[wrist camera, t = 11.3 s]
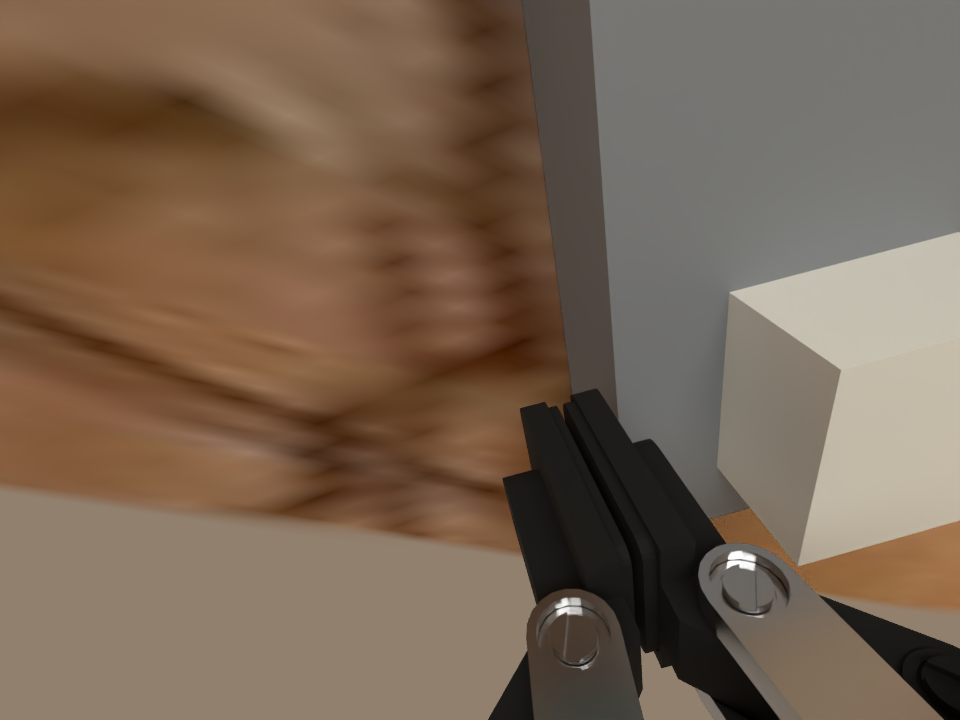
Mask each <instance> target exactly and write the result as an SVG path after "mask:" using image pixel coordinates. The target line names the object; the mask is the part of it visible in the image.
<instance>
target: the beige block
mask: <svg viewBox="0 0 960 720" xmlns="http://www.w3.org/2000/svg"><path fill="white" fill-rule="evenodd" d="M717 468H718V469H719V470H720V471H721V473H722V474H723V475H724V476H725V477H726V479H727V480H728V481H729V482H730V484H731V485H732V486H733V487H734V489H735V490H736V491H737V492H738V494H739V495H740V496H741V497H742V498H743V500H744V501H745V502H746V503H747V505H748V506H749V507H750V508H751V510H752V511H753V512H754V513H755V515H756V516H757V517H758V518H759V520H760V521H761V522H762V523H763V524H764V526H765V527H766V528H767V529H768V531H769V532H770V533H771V534H772V536H773V537H774V538H775V539H776V541H777V542H778V543H779V544H780V545H781V547H782V548H783V549H784V550H785V552H786V553H787V554H788V555H789V557H790V558H791V559H792V560H793V562H794V563H795V564H796V565H797V566H801V565H805V564H808V563H812V562H815V561H819V560H822V559H826V558H829V557H833V556H836V555H840V554H843V553H847V552H850V551H854V550H857V549H861V548H864V547H868V546H872V545H875V544H879V543H882V542H886V541H889V540H893V539H896V538H900V537H903V536H907V535H910V534H914V533H917V532H921V531H924V530H928V529H931V528H935V527H938V526H942V525H945V524H949V523H952V522H956V521H959V520H960V232H957V233H953V234H949V235H945V236H942V237H938V238H934V239H930V240H926V241H923V242H919V243H915V244H911V245H907V246H904V247H900V248H896V249H892V250H888V251H885V252H881V253H877V254H873V255H869V256H866V257H862V258H858V259H854V260H850V261H847V262H843V263H839V264H835V265H831V266H828V267H824V268H820V269H816V270H812V271H809V272H805V273H801V274H797V275H793V276H790V277H786V278H782V279H778V280H774V281H771V282H767V283H763V284H759V285H755V286H752V287H748V288H744V289H740V290H736V291H733V292H729V304H728V318H727V332H726V346H725V360H724V374H723V388H722V402H721V416H720V430H719V444H718V458H717Z"/></svg>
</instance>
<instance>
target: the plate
mask: <svg viewBox="0 0 960 720" xmlns="http://www.w3.org/2000/svg"><path fill="white" fill-rule="evenodd" d="M522 5H523V12H524V20H525V28H526V36H527V44H528V52H529V59H530V67H531V75H532V83H533V91H534V99H535V106H536V114H537V122H538V130H539V138H540V146H541V154H542V161H543V169H544V177H545V185H546V193H547V201H548V208H549V216H550V224H551V232H552V240H553V248H554V255H555V263H556V271H557V279H558V287H559V295H560V302H561V310H562V318H563V326H564V334H565V342H566V349H567V357H568V365H569V373H570V381H571V389H572V395H573V394H576V393H580V392H584V391H588V390H591V389H595V388H596V389H598V390H599V392H600V393H601V395H602V396H603V398H604V399H605V401H606V402H607V404H608V405H609V407H610V409H611V410H612V412H613V413H614V415H615V416H616V418H617V419H618V421H619V423H620V424H621V426H622V427H623V429H624V430H625V432H626V433H627V435H628V437H629V438H630V440H631V441H632V443H634V442H638V441H642V440H645V439H651V440H653V441H654V442H655V443H656V444H657V446H658V447H659V448H660V450H661V451H662V453H663V454H664V456H665V457H666V458H667V460H668V461H669V463H670V464H671V466H672V467H673V468H674V470H675V471H676V473H677V474H678V476H679V477H680V478H681V480H682V481H683V483H684V484H685V486H686V487H687V488H688V490H689V491H690V493H691V494H692V495H693V497H694V498H695V500H696V501H697V503H698V504H699V505H700V507H701V508H702V510H703V511H704V513H705V514H706V515H707V517H708V518H709V519H712V518H716V517H719V516H723V515H726V514H730V513H734V512H737V511H741V510H744V509H748V508H750V507H749V506H748V505H747V503H746V502H745V501H744V500H743V498H742V497H741V496H740V495H739V494H738V492H737V491H736V490H735V489H734V487H733V486H732V485H731V484H730V482H729V481H728V480H727V479H726V477H725V476H724V475H723V474H722V473H721V471H720V470H719V469H718V468H717V458H718V444H719V430H720V416H721V402H722V388H723V374H724V360H725V346H726V332H727V318H728V304H729V292H733V291H736V290H740V289H744V288H748V287H752V286H755V285H759V284H763V283H767V282H771V281H774V280H778V279H782V278H786V277H790V276H793V275H797V274H801V273H805V272H809V271H812V270H816V269H820V268H824V267H828V266H831V265H835V264H839V263H843V262H847V261H850V260H854V259H858V258H862V257H866V256H869V255H873V254H877V253H881V252H885V251H888V250H892V249H896V248H900V247H904V246H907V245H911V244H915V243H919V242H923V241H926V240H930V239H934V238H938V237H942V236H945V235H949V234H953V233H957V232H960V0H522Z"/></svg>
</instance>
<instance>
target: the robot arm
mask: <svg viewBox="0 0 960 720" xmlns="http://www.w3.org/2000/svg"><path fill="white" fill-rule="evenodd" d="M563 410H564V417H565V421H564V419H563V417H562V415H561V413H560V411H559V409H558V407H557V406H554V407H550V408H548V406H547V404H546V403H545V402H542V403H539V404H535V405H531V406H527V407H524V408H520V413H521V418H522V423H523V428H524V433H525V438H526V443H527V448H528V453H529V458H530V464H531V469H532V470H531V471H527V472H523V473H520V474H516V475H512V476H509V477H505V478H503V483H504V487H505V491H506V495H507V499H508V503H509V507H510V511H511V515H512V519H513V523H514V526H515V530H516V534H517V537H518V541H519V544H520V548H521V551H522V555H523V559H524V562H525V566H526V569H527V573H528V576H529V580H530V583H531V587H532V590H533V594H534V597H535V601H536V605H537V606H536V607H535V608H534V609H533V611H532V613H531V615H530V618H529V620H528V623H527V636H526V639H527V649H528V651H527V652H526V654H525V656H524V658H523V659H522V661H521V663H520V665H519V667H518V668H517V670H516V672H515V673H514V675H513V677H512V679H511V680H510V682H509V684H508V686H507V687H506V689H505V691H504V693H503V695H502V696H501V698H500V700H499V702H498V703H497V705H496V707H495V708H494V710H493V712H492V714H491V715H490V717H489V719H488V720H644V718H643V714H642V710H641V706H640V702H639V697H640V694H641V692H642V689H643V686H642V668H641V667H642V666H641V647H642V649H643V651H644V652H645V653H649V652H652V651H654V653H655V654H656V657H657V659H658V661H659V664H660V666H661V668H664V667H668V666H671V665H672V667H673V669H674V671H675V673H676V675H677V677H678V679H680V680H682V681H683V682H686V683H687V684H689V685H691V686H693V687H695V689H696V691H697V693H698V695H699V697H700V699H701V701H702V702H703V703H704V705H705V707H706V708H707V710H708V711H709V713H710V714H711V716H712V718H713V719H714V720H960V649H959V648H957V647H955V646H953V645H950V644H948V643H945V642H943V641H940V640H937V639H935V638H932V637H929V636H926V635H924V634H921V633H918V632H916V631H913V630H910V629H908V628H905V627H903V626H900V625H897V624H895V623H892V622H889V621H887V620H884V619H881V618H879V617H876V616H873V615H871V614H868V613H866V612H863V611H860V610H858V609H855V608H852V607H850V606H847V605H844V604H842V603H839V602H836V601H834V600H831V599H828V598H826V597H823V596H820V595H818V594H817V593H816V592H815V591H814V590H813V589H812V588H811V587H810V586H809V585H808V584H807V583H806V582H805V581H804V580H803V579H802V578H801V577H800V576H799V575H798V574H797V573H796V572H795V571H794V570H793V569H792V568H791V567H790V566H789V565H788V564H786V563H785V562H784V561H783V560H781V559H780V558H779V557H777V556H776V555H775V554H773V553H771V552H769V551H767V550H765V549H763V548H761V547H758V546H754V545H750V544H746V543H728V544H726V543H725V541H724V540H723V538H722V537H721V535H720V534H719V533H718V531H717V530H716V528H715V527H714V525H713V524H712V523H711V521H710V520H709V518H708V517H707V515H706V514H705V513H704V511H703V510H702V508H701V507H700V505H699V504H698V503H697V501H696V500H695V498H694V497H693V495H692V494H691V493H690V491H689V490H688V488H687V487H686V486H685V484H684V483H683V481H682V480H681V478H680V477H679V476H678V474H677V473H676V471H675V470H674V468H673V467H672V466H671V464H670V463H669V461H668V460H667V458H666V457H665V456H664V454H663V453H662V451H661V450H660V448H659V447H658V446H657V444H656V443H655V442H654V441H653V440H651V439H645V440H642V441H638V442H634V443H632V441H631V440H630V438H629V437H628V435H627V433H626V432H625V430H624V429H623V427H622V426H621V424H620V423H619V421H618V419H617V418H616V416H615V415H614V413H613V412H612V410H611V409H610V407H609V405H608V404H607V402H606V401H605V399H604V398H603V396H602V395H601V393H600V392H599V390H598V389H596V388H595V389H591V390H588V391H584V392H580V393H576V394H573V395H571V402H569V403H565V404H563ZM640 645H641V647H640Z"/></svg>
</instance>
